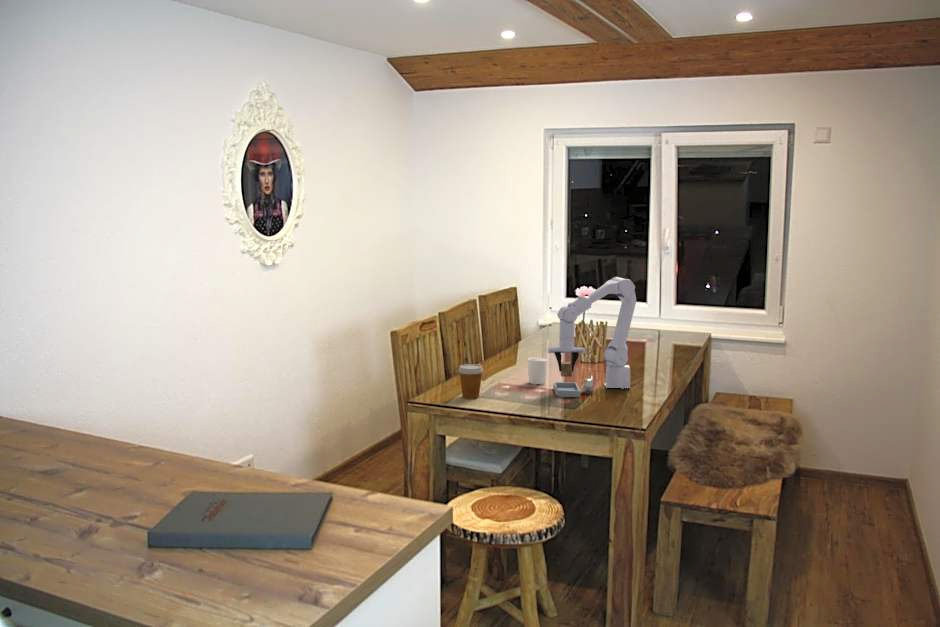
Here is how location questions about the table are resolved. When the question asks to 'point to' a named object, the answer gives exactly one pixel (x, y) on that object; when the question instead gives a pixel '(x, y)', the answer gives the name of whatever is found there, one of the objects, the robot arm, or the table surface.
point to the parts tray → (566, 389)
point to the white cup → (537, 370)
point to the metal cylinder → (588, 385)
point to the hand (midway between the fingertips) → (566, 371)
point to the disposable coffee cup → (470, 380)
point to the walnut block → (566, 369)
